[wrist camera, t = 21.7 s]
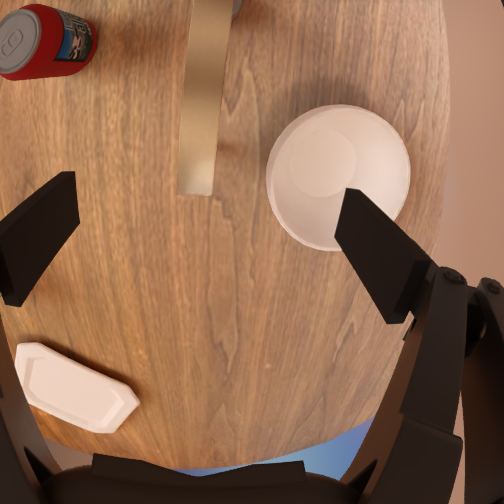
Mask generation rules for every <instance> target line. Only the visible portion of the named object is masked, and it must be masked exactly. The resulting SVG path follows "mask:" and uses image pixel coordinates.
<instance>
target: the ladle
mask: <svg viewBox="0 0 504 504" xmlns="http://www.w3.org/2000/svg"><path fill="white" fill-rule="evenodd" d="M242 2H243V0H194V2H193V9H192V16H191V23H190V30H189V38H188V46H187V55H186V64H185V73H184V83H183V94H182V106H181V119H180V134H179V151H178V171H177V194H180V195H201V196H213V188H214V176H215V164H216V153H217V142H218V131H219V121H220V112H221V102H222V93H223V84H224V75H225V67H226V59H227V51H228V43H229V36H230V28H231V21H232V20H233V19H234V18H235V17H236V16H237V15H238V13H239V11H240V9H241V6H242Z"/></svg>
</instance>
